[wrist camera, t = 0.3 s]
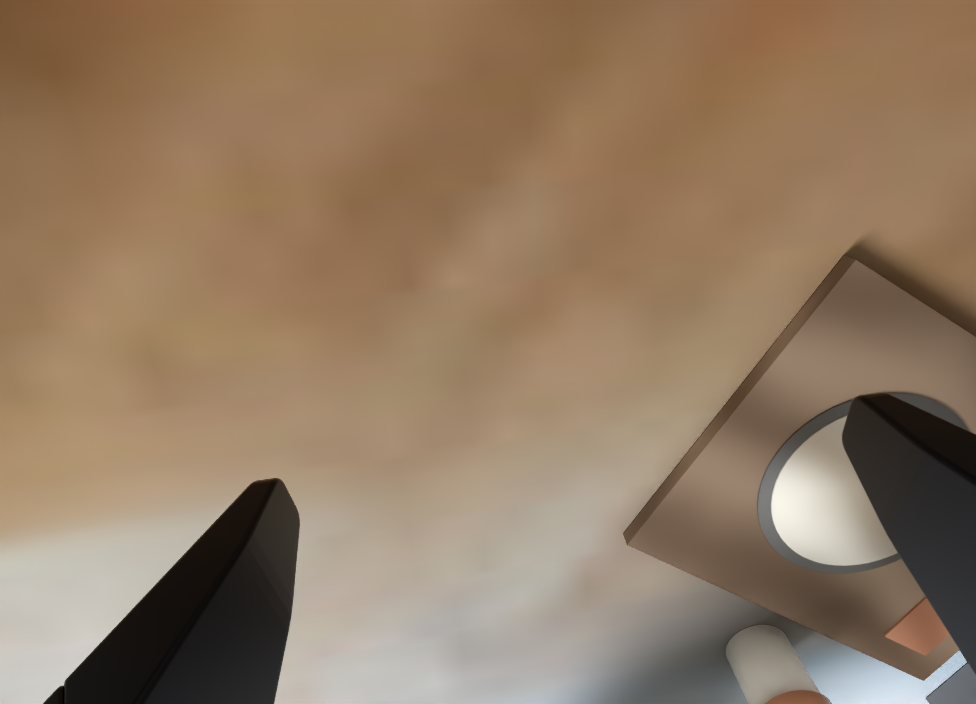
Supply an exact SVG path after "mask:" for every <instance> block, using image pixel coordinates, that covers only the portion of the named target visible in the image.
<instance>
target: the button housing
mask: <svg viewBox="0 0 976 704" xmlns="http://www.w3.org/2000/svg"><path fill="white" fill-rule="evenodd" d="M926 700H927V701H928V702H929V703H930V704H976V675H975V673H974V672H973V670H972V669H971V667H970V665H969V664H968V663H967V664H966V665H965V666H964V667H962V668H961V669H960V670H959V671H958V672H956V673H955V674H954V675H953V676H952V677H951V678H949V679H948V680H947V681H946V682H945V683H943V684H942V685H941V686H940V687H939V688H938V689H936V690H935V691H934V692H933V693H932V694H931V695H929V696H928V697H927V698H926Z"/></svg>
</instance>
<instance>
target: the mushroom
mask: <svg viewBox="0 0 976 704" xmlns="http://www.w3.org/2000/svg"><path fill="white" fill-rule="evenodd" d="M726 657H727V659H728V661H729V664H730V666H731V668H732V670H733V672H734V674H735V676H736V679H737V681H738V683H739V685H740V687H741V689H742V691H743V693H744V696H745V698H746V700H747V702H748V704H831V702H830V701H829V699H828V698H827V697H825V696H824V695H822V694H820V692H819V690H818V689H817V687H816V685H815V684H814V682H813V680H812V679H811V677H810V675H809V674H808V672H807V670H806V669H805V667H804V665H803V664H802V662H801V660H800V659H799V657H798V656H797V654H796V652H795V651H794V649H793V647H792V646H791V644H790V642H789V641H788V639H787V637H786V636H785V634H784V633H783V632H782V631H781V630H780V629H778V628H776V627H774V626H770V625H755V626H751V627H748V628H745V629H743V630H741V631H739V632H738V633H736V634H735V635H734V636H733V637H732V638H731V639H730V640H729V642H728V644H727V646H726Z"/></svg>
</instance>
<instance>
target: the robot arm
mask: <svg viewBox="0 0 976 704" xmlns="http://www.w3.org/2000/svg"><path fill="white" fill-rule="evenodd" d="M842 444H843V447H844V450H845V452H846V454H847V456H848V458H849V460H850V462H851V464H852V466H853V468H854V470H855V472H856V474H857V476H858V478H859V480H860V482H861V484H862V486H863V488H864V490H865V492H866V494H867V496H868V498H869V500H870V502H871V505H872V507H873V509H874V511H875V513H876V515H877V517H878V519H879V521H880V523H881V525H882V526H883V528H884V530H885V532H886V534H887V536H888V537H889V539H890V541H891V542H892V544H893V546H894V547H895V549H896V551H897V552H898V554H899V555H900V557H901V559H902V560H903V562H904V563H905V565H906V566H907V568H908V570H909V571H910V573H911V574H912V576H913V577H914V579H915V581H916V582H917V584H918V585H919V587H920V588H921V590H922V592H923V593H924V595H925V596H926V598H927V599H928V601H929V603H930V604H931V606H932V607H933V609H934V610H935V612H936V614H937V615H938V617H939V618H940V620H941V621H942V623H943V625H944V626H945V628H946V629H947V631H948V632H949V634H950V636H951V637H952V639H953V640H954V642H955V643H956V645H957V647H958V648H959V650H960V651H961V653H962V654H963V656H964V658H965V659H966V661H967V662H968V664H969V665H970V667H971V669H972V670H973V672H974V673H975V675H976V434H974V433H972V432H970V431H968V430H965V429H963V428H961V427H959V426H957V425H955V424H952V423H950V422H948V421H946V420H944V419H942V418H940V417H937V416H935V415H933V414H931V413H929V412H927V411H925V410H922V409H920V408H918V407H916V406H914V405H912V404H909V403H907V402H905V401H903V400H901V399H899V398H897V397H894V396H892V395H890V394H887V393H882V392H879V393H872V394H864V395H859V396H856V397H855V398H854V399H853V400H852V402H851V405H850V408H849V411H848V415H847V418H846V422H845V425H844V428H843V432H842ZM299 527H300V519H299V513H298V510H297V508H296V506H295V504H294V502H293V500H292V498H291V496H290V494H289V492H288V490H287V488H286V486H285V484H284V483H283V481H282V480H280V479H279V478H272V479H265V480H258V481H255V482H253V483H251V484H250V485H249V486H248V487H247V488H246V489H245V490H244V491H243V492H242V494H241V495H240V496H239V497H238V498H237V499H236V500H235V501H234V502H233V503H232V504H231V505H230V506H229V507H228V508H227V509H226V511H225V512H224V513H223V514H222V515H221V516H220V517H219V518H218V519H217V520H216V521H215V522H214V523H213V524H212V525H211V526H210V527H209V529H208V530H207V531H206V532H205V533H204V534H203V535H202V536H201V537H200V538H199V539H198V540H197V541H196V542H195V543H194V544H193V545H192V547H191V548H190V549H189V550H188V551H187V552H186V553H185V554H184V555H183V556H182V557H181V558H180V559H179V560H178V561H177V562H176V564H175V565H174V566H173V567H172V568H171V569H170V570H169V571H168V572H167V573H166V574H165V575H164V576H163V577H162V578H161V579H160V580H159V582H158V583H157V584H156V585H155V586H154V587H153V588H152V589H151V590H150V591H149V592H148V593H147V594H146V595H145V596H144V597H143V599H142V600H141V601H140V602H139V603H138V604H137V605H136V606H135V607H134V608H133V609H132V610H131V611H130V612H129V613H128V614H127V615H126V617H125V618H124V619H123V620H122V621H121V622H120V623H119V624H118V625H117V626H116V627H115V628H114V629H113V630H112V631H111V632H110V633H109V635H108V636H107V637H106V638H105V639H104V640H103V641H102V642H101V643H100V644H99V645H98V646H97V647H96V648H95V649H94V650H93V652H92V653H91V654H90V655H89V656H88V657H87V658H86V659H85V660H84V661H83V662H82V663H81V664H80V665H79V666H78V667H77V668H76V670H75V671H74V672H73V673H72V674H71V675H70V676H69V677H68V678H67V679H66V680H65V683H64V686H60V687H58V688H57V689H56V690H55V692H54V693H53V694H52V695H51V696H50V697H49V698H48V699H47V700H46V701H45V702H44V703H43V704H274V701H275V696H276V691H277V686H278V681H279V676H280V671H281V666H282V661H283V656H284V651H285V646H286V641H287V636H288V631H289V626H290V620H291V614H292V605H293V595H294V584H295V573H296V561H297V550H298V539H299Z"/></svg>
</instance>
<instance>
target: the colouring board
mask: <svg viewBox="0 0 976 704" xmlns="http://www.w3.org/2000/svg"><path fill="white" fill-rule="evenodd" d="M879 392H882V393H887V394H890V395H892V396H894V397H897V398H899V399H901V400H903V401H905V402H907V403H909V404H912V405H914V406H916V407H918V408H920V409H922V410H925V411H927V412H929V413H931V414H933V415H935V416H937V417H940V418H942V419H944V420H946V421H948V422H950V423H952V424H955V425H957V426H959V427H961V428H963V429H965V430H968V431H970V432H972V433H974V434H976V337H975V336H973V335H972V334H970V333H969V332H967V331H966V330H964V329H963V328H961V327H960V326H958V325H956V324H955V323H953V322H952V321H950V320H949V319H947V318H946V317H944V316H942V315H941V314H939V313H938V312H936V311H935V310H933V309H932V308H930V307H928V306H927V305H925V304H924V303H922V302H921V301H919V300H918V299H916V298H914V297H913V296H911V295H910V294H908V293H907V292H905V291H904V290H902V289H900V288H899V287H897V286H896V285H894V284H893V283H891V282H890V281H888V280H887V279H885V278H883V277H882V276H880V275H879V274H877V273H876V272H874V271H873V270H871V269H869V268H868V267H866V266H865V265H863V264H862V263H860V262H859V261H857V260H855V259H852V258H850V257H847V256H843V257H842V258H841V260H840V261H839V262H838V263H837V265H836V266H835V267H834V268H833V270H832V271H831V272H830V273H829V275H828V276H827V277H826V278H825V280H824V281H823V282H822V284H821V285H820V286H819V287H818V289H817V290H816V291H815V292H814V294H813V295H812V296H811V297H810V299H809V300H808V301H807V302H806V304H805V305H804V306H803V307H802V309H801V310H800V311H799V313H798V314H797V315H796V316H795V318H794V319H793V320H792V321H791V323H790V324H789V325H788V326H787V328H786V329H785V330H784V331H783V333H782V334H781V335H780V337H779V338H778V339H777V340H776V342H775V343H774V344H773V345H772V347H771V348H770V349H769V350H768V352H767V353H766V354H765V355H764V357H763V358H762V359H761V360H760V362H759V363H758V364H757V366H756V367H755V368H754V369H753V371H752V372H751V373H750V374H749V376H748V377H747V378H746V379H745V381H744V382H743V383H742V384H741V386H740V387H739V388H738V390H737V391H736V392H735V393H734V395H733V396H732V397H731V398H730V400H729V401H728V402H727V403H726V405H725V406H724V407H723V408H722V410H721V411H720V412H719V413H718V415H717V416H716V417H715V419H714V420H713V421H712V422H711V424H710V425H709V426H708V427H707V429H706V430H705V431H704V432H703V434H702V435H701V436H700V437H699V439H698V440H697V441H696V443H695V444H694V445H693V446H692V448H691V449H690V450H689V451H688V453H687V454H686V455H685V456H684V458H683V459H682V460H681V461H680V463H679V464H678V465H677V467H676V468H675V469H674V470H673V472H672V473H671V474H670V475H669V477H668V478H667V479H666V480H665V482H664V483H663V484H662V485H661V487H660V488H659V489H658V490H657V492H656V493H655V494H654V496H653V497H652V498H651V499H650V501H649V502H648V503H647V504H646V506H645V507H644V508H643V509H642V511H641V512H640V513H639V514H638V516H637V517H636V518H635V520H634V521H633V522H632V523H631V525H630V526H629V527H628V528H627V530H626V531H625V532H624V533H623V535H624V538H625V540H626V543H627V545H629V546H631V547H633V548H635V549H637V550H639V551H642V552H644V553H646V554H648V555H650V556H653V557H655V558H657V559H659V560H661V561H663V562H666V563H668V564H670V565H672V566H674V567H677V568H679V569H681V570H683V571H685V572H687V573H690V574H692V575H694V576H696V577H698V578H701V579H703V580H705V581H707V582H709V583H711V584H714V585H716V586H718V587H720V588H722V589H725V590H727V591H729V592H731V593H733V594H735V595H738V596H740V597H742V598H744V599H746V600H749V601H751V602H753V603H755V604H757V605H759V606H762V607H764V608H766V609H768V610H770V611H773V612H775V613H777V614H779V615H781V616H783V617H786V618H788V619H790V620H792V621H794V622H797V623H799V624H801V625H803V626H805V627H807V628H810V629H812V630H814V631H816V632H818V633H821V634H823V635H825V636H827V637H829V638H831V639H834V640H836V641H838V642H840V643H842V644H845V645H847V646H849V647H851V648H853V649H855V650H858V651H860V652H862V653H864V654H866V655H869V656H871V657H873V658H875V659H877V660H879V661H882V662H884V663H886V664H888V665H890V666H893V667H895V668H897V669H899V670H901V671H903V672H906V673H908V674H910V675H912V676H914V677H917V678H919V679H921V680H923V681H924V680H925V679H926V678H927V677H929V676H930V675H931V674H932V673H933V672H934V671H935V670H937V669H938V668H939V667H940V666H941V665H942V664H944V663H945V662H946V661H947V660H948V659H949V658H951V657H952V656H953V655H954V654H955V653H956V652H957V651H959V648H958V647H957V645H956V643H955V642H954V640H953V639H952V637H951V636H950V634H949V632H948V631H947V629H946V628H945V626H944V625H943V623H942V621H941V620H940V618H939V617H938V615H937V614H936V612H935V610H934V609H933V607H932V606H931V604H930V603H929V601H928V599H927V598H926V596H925V595H924V593H923V592H922V590H921V588H920V587H919V585H918V584H917V582H916V581H915V579H914V577H913V576H912V574H911V573H910V571H909V570H908V568H907V566H906V565H905V563H904V562H903V560H902V559H901V557H900V555H899V554H898V552H897V551H896V549H895V547H894V546H893V544H892V542H891V541H890V539H889V537H888V536H887V534H886V532H885V530H884V528H883V526H882V525H881V523H880V521H879V519H878V517H877V515H876V513H875V511H874V509H873V507H872V505H871V502H870V500H869V498H868V496H867V494H866V492H865V490H864V488H863V486H862V484H861V482H860V480H859V478H858V476H857V474H856V472H855V470H854V468H853V466H852V464H851V462H850V460H849V458H848V456H847V454H846V452H845V450H844V447H843V444H842V432H843V428H844V425H845V422H846V418H847V415H848V411H849V408H850V405H851V402H852V400H853V399H854V398H855V397H856V396H859V395H864V394H872V393H879Z"/></svg>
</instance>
